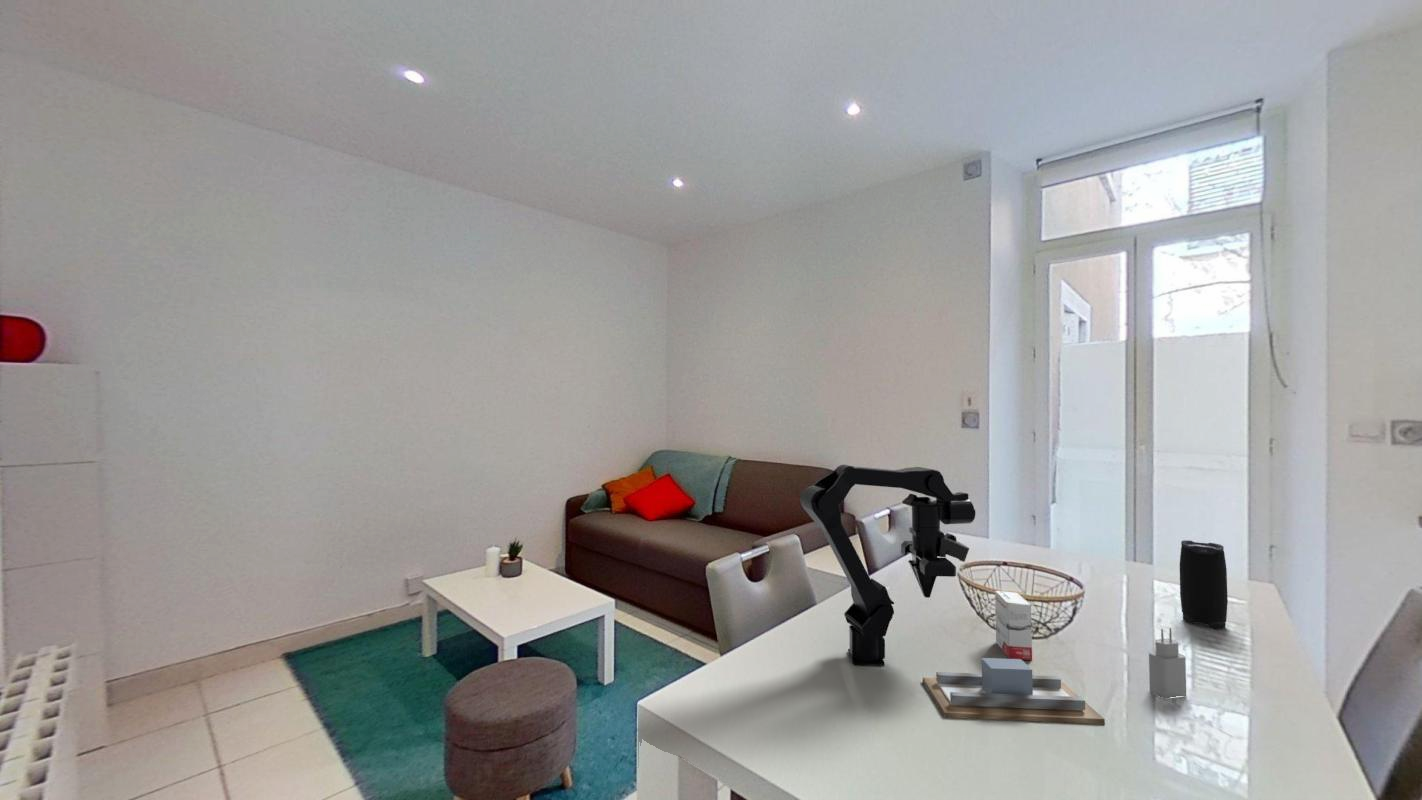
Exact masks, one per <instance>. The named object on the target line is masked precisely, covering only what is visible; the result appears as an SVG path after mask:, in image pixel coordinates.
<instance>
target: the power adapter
mask: <svg viewBox="0 0 1422 800" xmlns="http://www.w3.org/2000/svg"><path fill="white" fill-rule="evenodd" d="M1168 629H1169V634H1168V635H1169V638H1164V637H1165V636H1164V629H1163V628H1161V629H1160V630H1161V634H1160V636H1161V638H1160V639H1159V638H1158V639H1155V640H1154V641H1155V642H1154V645H1155V646H1154V649H1155V650H1154V651H1148V671H1149V672H1148V674H1149V675H1148V677H1149V679H1148V681H1149V682H1148V683H1149V692H1150V691H1151V692H1152V694H1153V693H1154V694H1153V695H1155V694H1156V695H1155V696H1157V695H1158V696H1157V697H1159V696H1160V697H1159V698H1161V697H1163V698H1162V699H1164V698H1170V697H1176V696H1186V697H1187V668H1186V666H1187V664H1186V663H1187V662H1186V656H1185V655H1184V654H1181V653H1179V642H1178V640H1177V639H1173V637H1172V627H1169V628H1168ZM1151 692H1150V693H1151Z"/></svg>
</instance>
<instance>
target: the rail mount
mask: <svg viewBox="0 0 1422 800" xmlns="http://www.w3.org/2000/svg"><path fill="white" fill-rule="evenodd" d="M935 674H936V675H935V677H922V683H923V684H924V687H925V688H926V690H927V691H928V692H929V694H930V696H931V698H932V699H933V700H934V702H935V704H936V705H937V706H938V708H939V710H940V712H941V713H942V715H943V717H944V718H953V719H981V720H983V719H984V720H1002V721H1003V720H1004V721H1005V720H1006V721H1027V722H1028V721H1031V722H1047V723H1048V722H1052V723H1055V722H1056V723H1073V724H1074V723H1076V724H1077V723H1080V724H1099V725H1102V724H1103V725H1105V722H1106V721H1105V718H1104V717H1103V716H1102V715H1101V714H1100V713H1099V712H1097V711H1096V710H1095V709H1094V708H1093V707H1092V706H1091V705H1089V704H1088V703H1087V702H1086V700H1085V699H1084V698H1083V697H1082V696H1079V695H1078V694H1077V693H1076V692H1074V691H1073V690H1072V689H1071V688H1070V687H1069V686H1068V685H1066V683H1064V682H1062V679H1061V678H1060V677H1059V676H1057V675H1035V674H1034V675H1033V674H1032V682H1033V695H1017V694H991V693H986V692H985V691H984V690H983V688H982V673H978V672H977V673H975V672H971V673H970V672H947V671H946V672H943V671H941V672H939V671H937V672H936V673H935Z"/></svg>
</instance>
